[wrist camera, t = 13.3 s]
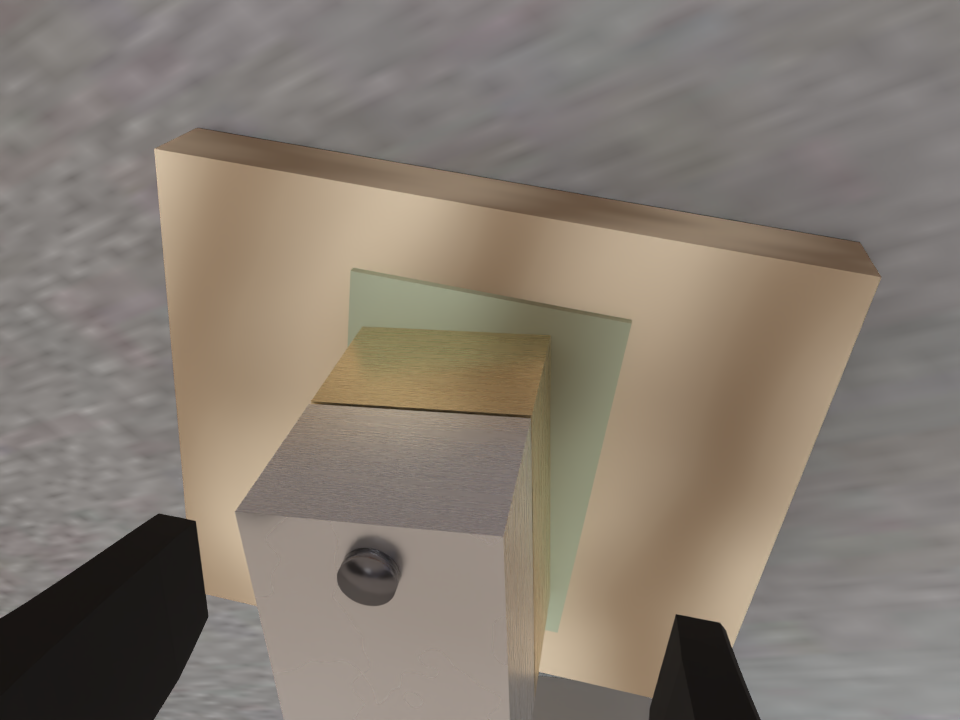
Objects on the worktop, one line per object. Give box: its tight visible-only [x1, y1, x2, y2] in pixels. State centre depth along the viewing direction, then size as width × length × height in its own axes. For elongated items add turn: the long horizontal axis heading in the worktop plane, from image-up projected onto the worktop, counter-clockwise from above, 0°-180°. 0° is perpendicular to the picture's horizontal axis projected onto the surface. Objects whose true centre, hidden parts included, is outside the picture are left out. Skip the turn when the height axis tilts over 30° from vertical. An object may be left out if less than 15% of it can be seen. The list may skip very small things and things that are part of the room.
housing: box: [235, 326, 551, 720], centre depth 18 cm, size 8×4×7 cm, turn 2°
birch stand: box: [154, 128, 881, 698], centre depth 22 cm, size 16×14×2 cm
